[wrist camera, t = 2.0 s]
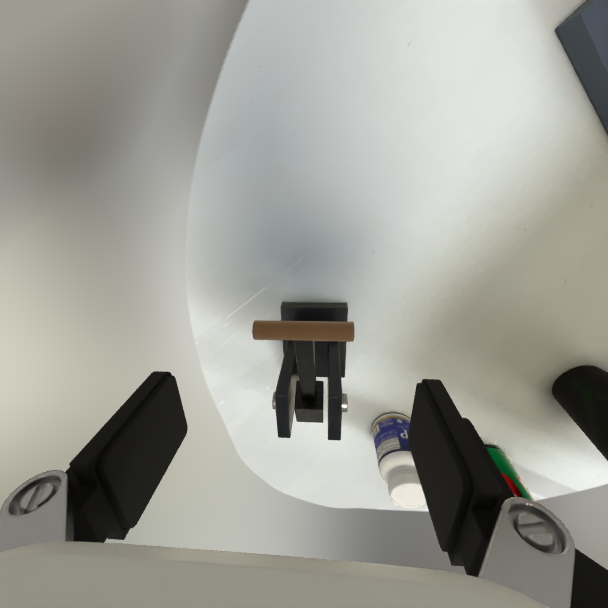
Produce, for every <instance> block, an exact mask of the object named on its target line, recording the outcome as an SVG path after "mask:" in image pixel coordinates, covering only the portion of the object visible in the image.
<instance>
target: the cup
mask: <svg viewBox="0 0 608 608" xmlns="http://www.w3.org/2000/svg"><path fill="white" fill-rule="evenodd" d="M552 394H553V396H554V398H555V399H556V400H557V401H558V403H559V404H560V405H561V406H562V407H563V409H564V410H565V411H566V412H567V413H568V414H569V416H570V417H571V418H572V419H573V420H574V422H575V423H576V424H577V425H578V426H579V427H580V429H581V430H582V431H583V432H584V433H585V434H586V436H587V437H588V438H589V439H590V440H591V442H592V443H593V444H594V445H595V446H596V447H597V449H598V450H599V451H600V452H601V453H602V455H603V456H604V457H605V458H606V459H607V460H608V373H607V372H605V371H604V370H602V369H600V368H598V367H594V366H581V367H576V368H573V369H570V370H568V371H567V372H565V373H563V374H562V375H561V376H560V377H558V379H557V380H556V381H555V383H554V385H553V387H552Z"/></svg>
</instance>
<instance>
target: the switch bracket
mask: <svg viewBox="0 0 608 608" xmlns="http://www.w3.org/2000/svg"><path fill="white" fill-rule="evenodd" d="M347 314H348V306H347V303H285V302H283V303H282V305H281V319H282V321H329V322H347ZM314 346H315V369H316V377H328V440H341V419H342V412H347V394H342V385H341V377H343V378H344V377H345V359H346V341H314ZM283 351H284V358H283V363H282V367H281V371H280V375H279V379H278V383H277V388H276V392H274V394H273V400H272V406H273V409H276V417H277V429H278V437H281V438H290V436H291V429H292V422H293V415H294V406H295V393H296V381H297V380H298V379H299V376H298V369H297V362H296V355H295V348H294V341H293V340H283Z"/></svg>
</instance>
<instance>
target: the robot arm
mask: <svg viewBox="0 0 608 608" xmlns="http://www.w3.org/2000/svg"><path fill="white" fill-rule="evenodd" d="M186 433H187V422H186V418H185V414H184V410H183V406H182V402H181V398H180V394H179V391H178V387H177V383H176V379H175V377H174V376H172V375H171V373H170V372H153V373H151V375H150V376H149V377H148V378H147V379H146V380H145V381H144V382H143V383H142V384H141V385H140V386H139V388H138V389H137V390H136V391H135V392H134V393H133V394H132V395H131V397H130V398H129V399H128V400H127V401H126V402H125V403H124V404H123V405H122V406H121V407H120V409H119V410H118V411H117V412H116V413H115V414H114V415H113V416H112V417H111V418H110V420H109V421H108V422H107V423H106V424H105V425H104V426H103V427H102V428H101V429H100V431H99V432H98V433H97V434H96V435H95V436H94V437H93V438H92V439H91V440H90V442H89V443H88V444H87V445H86V446H85V447H84V448H83V449H82V450H81V451H80V453H79V454H78V455H77V456H76V457H75V458H74V459H73V460H72V461H71V462H70V464H69V465H70V467H69V469H68V470H67V471H66V472H64V471H61V470H52V471H47V472H44V473H41V474H38V475H36V476H35V477H33V478H31V479H29V480H27V481H26V482H24V483H23V484H22V485H20V486H19V487H18V488H17V489H16V490H15V491H14V492H12V493H11V494H10V496H9V497H8V498H7V499H6V501H5V502H4V504H3V506H2V508H1V510H0V608H608V570H607V569H605V568H604V567H602V566H600V565H599V564H598V563H596V562H595V561H593V560H592V559H590V558H588V557H587V556H586V555H584V554H583V553H581V552H580V551H578V550H577V549H576V548H575V546H574V541H573V539H572V537H571V534H570V532H569V531H568V529H567V528H566V527H565V525H564V524H563V523H562V522H561V520H559V519H558V518H557V517H556V516H555V515H554V514H553V513H552V512H551V511H549V510H548V509H546V508H545V507H544V506H542V505H541V504H538V503H536V502H534V501H532V500H530V499H526V498H522V497H515V495H514V494H513V492H512V490H511V489H510V487H509V485H508V484H507V482H506V480H505V479H504V477H503V475H502V473H501V472H500V470H499V468H498V467H497V465H496V463H495V462H494V460H493V458H492V457H491V455H490V453H489V452H488V450H487V448H486V447H485V445H484V443H483V442H482V440H481V438H480V437H479V435H478V433H477V431H476V430H475V428H474V426H473V425H472V423H471V422H470V421H469V420H468V419H467V418H462V417H461V415H460V413H459V412H458V410H457V408H456V406H455V405H454V403H453V401H452V399H451V398H450V396H449V394H448V392H447V391H446V389H445V387H444V385H443V384H442V382H441V381H440V380H434V379H423V380H422V383H417V386H416V392H415V398H414V403H413V409H412V415H411V421H410V427H409V433H408V444H409V448H410V451H411V454H412V457H413V461H414V464H415V467H416V470H417V474H418V477H419V480H420V483H421V487H422V490H423V493H424V496H425V500H426V503H427V506H428V509H429V513H430V516H431V519H432V522H433V525H434V529H435V532H436V535H437V538H438V542H439V545H440V547H441V549H442V551H444V552H448V555H449V558H450V561H451V565H454V566H464V568H465V571H466V573H467V575H465V574H459V573H453V572H447V571H440V570H433V569H423V568H414V567H404V566H394V565H385V564H374V563H362V562H351V561H339V560H327V559H315V558H303V557H291V556H279V555H266V554H253V553H241V552H227V551H215V550H202V549H201V550H200V549H188V548H175V547H174V548H173V547H160V546H147V545H133V544H115V543H104V542H105V540H106V539H107V538H108V539H119V540H124V539H125V537H126V535H127V533H128V531H129V530H130V528H133V527H134V526H135V525H136V524H137V522H138V521H139V519H140V517H141V515H142V513H143V512H144V510H145V508H146V506H147V504H148V503H149V501H150V499H151V497H152V495H153V493H154V492H155V490H156V488H157V486H158V485H159V483H160V481H161V479H162V477H163V475H164V474H165V472H166V470H167V468H168V466H169V465H170V463H171V461H172V459H173V457H174V456H175V454H176V452H177V450H178V448H179V447H180V445H181V443H182V441H183V439H184V437H185V436H186Z"/></svg>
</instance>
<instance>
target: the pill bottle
mask: <svg viewBox="0 0 608 608" xmlns="http://www.w3.org/2000/svg"><path fill="white" fill-rule="evenodd" d="M410 421H411V420H410V419H409V418H407V417H406V416H404V415H401V414H397V413H390V414H385V415H383V416H381V417H379V418H378V419H377V420H376V421H375V422H374V424H373V427H372V432H373V438H374V443H375V448H376V454H377V460H378V466H379V471H380V474H381V477H382V478H383V480H384V481H385V482H386V483H387V484H388V490H389V494H390V498H391V500H392V501H393V502H394V503H395V504H396V505H398V506H400V507H404V508H415V507H419V506H422V505H424V504H425V503H426V500H425V496H424V493H423V490H422V487H421V483H420V480H419V477H418V474H417V470H416V467H415V464H414V461H413V457H412V454H411V451H410V448H409V444H408V433H409V427H410Z"/></svg>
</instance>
